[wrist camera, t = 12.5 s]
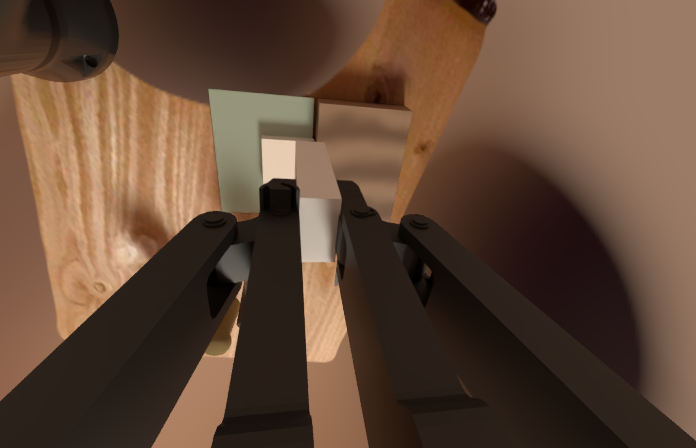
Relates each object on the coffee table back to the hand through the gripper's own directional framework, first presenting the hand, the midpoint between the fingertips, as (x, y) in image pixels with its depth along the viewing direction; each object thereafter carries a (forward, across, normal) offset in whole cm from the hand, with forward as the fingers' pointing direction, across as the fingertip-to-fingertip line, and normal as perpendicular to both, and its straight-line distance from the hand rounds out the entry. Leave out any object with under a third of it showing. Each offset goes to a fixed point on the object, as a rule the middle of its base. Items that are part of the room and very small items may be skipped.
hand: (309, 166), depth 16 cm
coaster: (+34, -1, -12) cm, 36 cm away
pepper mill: (+35, -14, -45) cm, 58 cm away
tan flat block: (+34, +10, -12) cm, 38 cm away
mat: (+34, -5, -12) cm, 37 cm away
